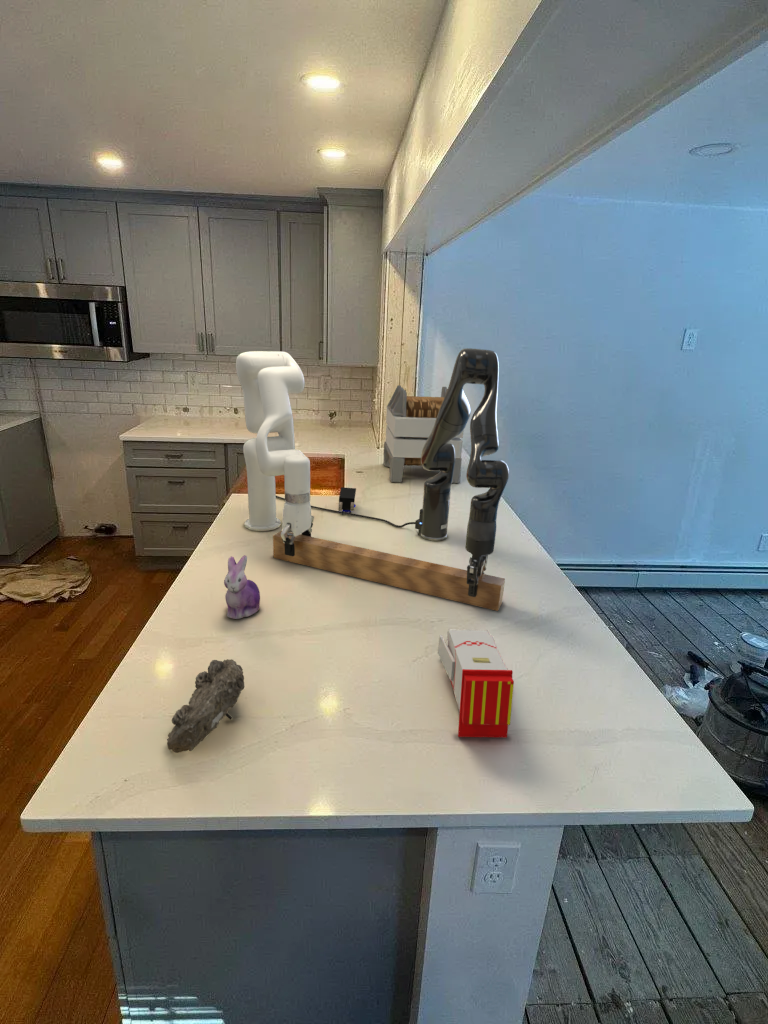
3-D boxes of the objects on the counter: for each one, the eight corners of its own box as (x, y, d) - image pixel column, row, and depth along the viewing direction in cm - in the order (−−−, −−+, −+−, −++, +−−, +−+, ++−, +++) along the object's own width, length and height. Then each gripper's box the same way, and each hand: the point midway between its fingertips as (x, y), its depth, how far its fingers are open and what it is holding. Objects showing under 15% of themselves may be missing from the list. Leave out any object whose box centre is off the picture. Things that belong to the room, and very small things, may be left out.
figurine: (229, 624, 139) (226, 568, 134) (220, 605, 148) (216, 552, 142) (266, 616, 143) (265, 562, 138) (255, 598, 152) (254, 546, 147)
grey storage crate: (382, 463, 289) (386, 382, 275) (445, 464, 293) (451, 384, 279) (390, 482, 257) (394, 392, 243) (460, 483, 261) (468, 394, 247)
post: (502, 603, 155) (505, 578, 153) (498, 611, 151) (501, 585, 149) (282, 552, 181) (281, 530, 178) (273, 557, 177) (272, 535, 174)
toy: (488, 613, 130) (523, 677, 101) (484, 667, 133) (517, 744, 104) (435, 612, 130) (455, 676, 101) (432, 666, 133) (451, 743, 103)
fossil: (192, 660, 117) (244, 628, 112) (224, 691, 120) (276, 661, 115) (142, 746, 98) (202, 712, 93) (182, 779, 101) (242, 748, 96)
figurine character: (355, 520, 214) (356, 503, 227) (355, 502, 211) (356, 486, 224) (337, 519, 214) (339, 502, 227) (337, 501, 210) (339, 485, 224)
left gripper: (301, 487, 178) (302, 538, 184) (270, 502, 163) (272, 557, 169) (322, 491, 175) (322, 542, 181) (292, 507, 160) (293, 562, 166)
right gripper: (474, 523, 157) (468, 578, 163) (459, 540, 144) (454, 599, 150) (501, 528, 154) (494, 584, 160) (488, 546, 142) (481, 606, 147)
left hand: (298, 549), depth 175 cm, fingers open, 9 cm apart
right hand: (474, 591), depth 155 cm, fingers closed on post, 5 cm apart
